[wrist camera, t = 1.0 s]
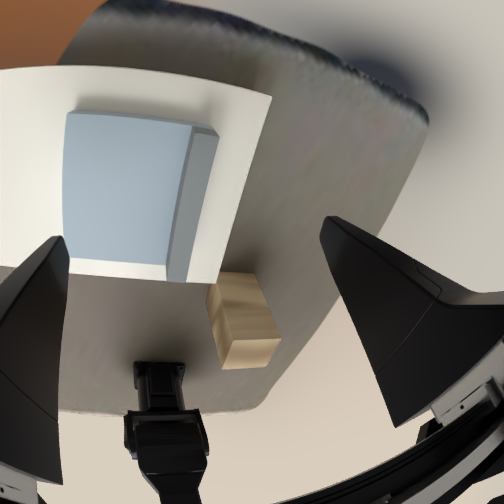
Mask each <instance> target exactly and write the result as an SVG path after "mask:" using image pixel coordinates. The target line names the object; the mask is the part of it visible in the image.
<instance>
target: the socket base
mask: <svg viewBox="0 0 504 504" xmlns="http://www.w3.org/2000/svg"><path fill="white" fill-rule="evenodd" d="M271 100H272V96H269V95H266V94H263V93H260V92H257V91H254V90H251V89H247V88H243V87H239V86H235V85H231V84H227V83H222V82H218V81H213V80H208V79H203V78H198V77H193V76H187V75H182V74H175V73H169V72H162V71H155V70H147V69H138V68H128V67H115V66H98V65H43V66H26V67H15V68H6V69H0V265H2V266H10V267H18V266H19V265H20V264H21V263H22V262H23V261H24V260H25V259H26V258H28V257H29V256H30V255H31V254H32V253H33V252H34V251H35V250H36V249H37V248H38V247H40V246H41V245H42V244H43V243H44V242H45V241H46V240H47V239H49V238H50V237H51V236H57V235H61V236H63V217H62V166H63V147H64V134H65V124H66V115H67V113H68V112H70V111H72V110H90V111H105V112H118V113H128V114H138V115H146V116H154V117H162V118H169V119H176V120H182V121H189V122H195V123H200V124H206V125H211V126H212V127H213V128H214V130H215V131H216V132H217V134H218V135H219V137H220V139H219V142H218V146H217V150H216V154H215V157H214V161H213V165H212V169H211V173H210V177H209V181H208V185H207V189H206V193H205V197H204V201H203V206H202V210H201V214H200V218H199V223H198V227H197V232H196V236H195V241H194V246H193V250H192V255H191V260H190V265H189V270H188V275H187V280H186V282H195V283H214V284H216V281H217V277H218V274H219V270H220V267H221V263H222V260H223V256H224V253H225V249H226V246H227V242H228V239H229V235H230V232H231V229H232V225H233V222H234V218H235V215H236V212H237V208H238V205H239V202H240V198H241V195H242V192H243V188H244V185H245V182H246V178H247V175H248V172H249V169H250V165H251V162H252V159H253V156H254V153H255V149H256V146H257V143H258V140H259V137H260V134H261V130H262V127H263V124H264V121H265V118H266V115H267V112H268V109H269V106H270V103H271ZM63 238H64V236H63ZM69 273H75V274H86V275H97V276H109V277H121V278H134V279H148V280H163V281H166V265H153V264H140V263H128V262H116V261H104V260H93V259H81V258H70V266H69Z"/></svg>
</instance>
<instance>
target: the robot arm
mask: <svg viewBox="0 0 504 504" xmlns="http://www.w3.org/2000/svg"><path fill="white" fill-rule="evenodd" d="M320 243H321V245H322V248H323V251H324V254H325V257H326V260H327V262H328V265H329V268H330V271H331V274H332V276H333V279H334V281H335V283H336V285H337V287H338V290H339V292H340V294H341V296H342V298H343V301H344V303H345V305H346V307H347V310H348V312H349V314H350V316H351V318H352V321H353V323H354V325H355V328H356V330H357V333H358V335H359V337H360V340H361V342H362V345H363V347H364V349H365V352H366V354H367V357H368V359H369V361H370V364H371V367H372V369H373V372H374V374H375V375H376V380H377V382H378V385H379V387H380V390H381V392H382V395H383V398H384V400H385V403H386V406H387V409H388V411H389V414H390V417H391V420H392V422H393V425H394V427H395V428H397V427H399V426H401V425H403V424H405V423H406V422H408V421H410V420H412V419H414V418H416V417H418V416H419V415H421V414H423V413H424V412H426V411H428V410H430V409H431V410H432V412H433V414H434V416H435V418H433V419H431V420H430V421H428V422H427V423H425V424H424V425H422V426H421V427H420V430H419V434H418V438H417V441H416V445H414V446H412V447H411V448H409V449H407V450H406V451H404V452H402V453H401V454H398V455H396V456H395V457H393V458H391V459H389V460H387V461H385V462H383V463H381V464H379V465H377V466H375V467H373V468H371V469H368V470H366V471H364V472H362V473H360V474H357V475H355V476H353V477H351V478H348V479H346V480H343V481H341V482H339V483H336V484H333V485H331V486H328V487H325V488H323V489H320V490H317V491H314V492H311V493H308V494H305V495H302V496H298V497H295V498H292V499H289V500H285V501H281V502H277V503H274V504H450V503H451V502H452V501H454V500H455V499H456V498H457V497H458V496H460V495H461V494H462V493H463V492H464V491H465V490H467V489H468V488H469V487H470V486H471V485H472V484H475V483H477V482H480V481H482V480H485V479H487V478H490V477H492V476H494V475H496V474H499V473H501V472H503V471H504V291H500V292H488V293H478V292H474V291H471V290H469V289H467V288H465V287H463V286H461V285H459V284H458V283H456V282H454V281H452V280H450V279H449V278H447V277H445V276H443V275H441V274H440V273H438V272H436V271H434V270H432V269H431V268H429V267H427V266H426V265H424V264H422V263H420V262H418V261H417V260H415V259H413V258H412V257H410V256H408V255H407V254H405V253H403V252H402V251H400V250H398V249H396V248H395V247H393V246H391V245H389V244H387V243H386V242H384V241H382V240H380V239H379V238H377V237H375V236H373V235H371V234H370V233H368V232H366V231H364V230H362V229H360V228H359V227H357V226H355V225H353V224H351V223H349V222H347V221H345V220H343V219H341V218H340V217H338V216H327V217H325V219H324V222H323V225H322V229H321V232H320ZM69 266H70V256H69V253H68V250H67V247H66V244H65V240H64V238H63V236H61V235H57V236H51V237H50V238H49V239H47V240H46V241H45V242H44V243H43V244H42V245H41V246H40V247H38V248H37V249H36V250H35V251H34V252H33V253H32V254H31V255H30V256H29V257H28V258H26V259H25V260H24V261H23V262H22V263H21V264H20V265H19V266H18V267H17V268H16V269H15V270H14V271H13V272H12V273H11V274H10V275H9V276H8V277H7V278H6V279H5V280H4V281H3V282H2V283H1V284H0V504H47V503H46V502H45V501H44V500H43V499H42V498H41V497H40V495H39V494H38V493H37V483H36V481H41V482H46V483H53V484H58V485H63V478H62V470H61V460H60V447H59V431H58V430H59V428H58V382H59V364H60V351H61V341H62V332H63V324H64V316H65V310H66V302H67V290H68V276H69ZM184 372H185V365H184V364H182V363H138V362H137V363H134V385H135V389H137V390H138V400H139V411H132V410H128V414H127V415H125V416H124V445H125V448H127V449H128V450H129V452H130V454H131V456H132V459H134V460H137V459H138V465H139V468H140V471H141V473H142V476H143V477H144V478H145V480H146V481H147V482H148V483H149V484H150V485H151V487H152V488H153V489H154V490H155V491H156V492H157V493H158V494H159V497H160V501H161V504H202V503H201V499H200V495H199V491H198V487H199V484H200V482H201V480H202V477H203V474H204V472H205V469H206V467H207V458H206V456H208V455H209V443H208V438H207V434H206V431H205V428H204V425H203V421H202V418H201V415H200V412H199V409H194V410H185V405H184V399H183V393H182V387H181V386H182V381H183V376H184ZM487 504H504V495H501V496H498V497H496V498H493V499H492V500H490V501H489V502H488V503H487Z"/></svg>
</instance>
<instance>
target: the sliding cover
mask: <svg viewBox="0 0 504 504" xmlns="http://www.w3.org/2000/svg"><path fill="white" fill-rule="evenodd" d="M219 139H220V137H219V135H218V134H217V132H216V131H215V130H214V128H213V127H212V126H211V125H206V124H200V123H195V122H189V121H182V120H176V119H169V118H162V117H154V116H146V115H138V114H128V113H118V112H105V111H90V110H72V111H70V112H68V113H67V115H66V124H65V134H64V147H63V166H62V217H63V236H64V240H65V244H66V247H67V250H68V253H69V256H70V258H81V259H93V260H104V261H116V262H128V263H140V264H153V265H166V281H167V282H178V283H186V280H187V275H188V270H189V265H190V260H191V255H192V250H193V246H194V241H195V236H196V232H197V227H198V223H199V218H200V214H201V210H202V206H203V201H204V197H205V193H206V189H207V185H208V181H209V177H210V173H211V169H212V165H213V161H214V157H215V154H216V150H217V146H218V142H219Z"/></svg>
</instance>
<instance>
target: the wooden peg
mask: <svg viewBox="0 0 504 504" xmlns="http://www.w3.org/2000/svg"><path fill="white" fill-rule="evenodd" d="M206 305H207V310H208V314H209V319H210V323H211V327H212V332H213V336H214V340H215V344H216V348H217V352H218V357H219V361H220V365H221V369H240V368H254V367H266V365H267V364H268V362H269V360H270V359H271V357H272V355H273V353H274V352H275V350H276V348H277V346H278V344H279V343H280V341H281V339H282V337H281V335H280V333H279V330H278V328H277V326H276V323H275V321H274V319H273V316H272V314H271V312H270V309H269V307H268V305H267V302H266V300H265V298H264V295H263V293H262V291H261V288H260V286H259V284H258V281H257V279H256V277H255V274H252V273H235V272H219V274H218V277H217V281H216V284H214V283H211V284H210V288H209V292H208V296H207V300H206Z"/></svg>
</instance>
